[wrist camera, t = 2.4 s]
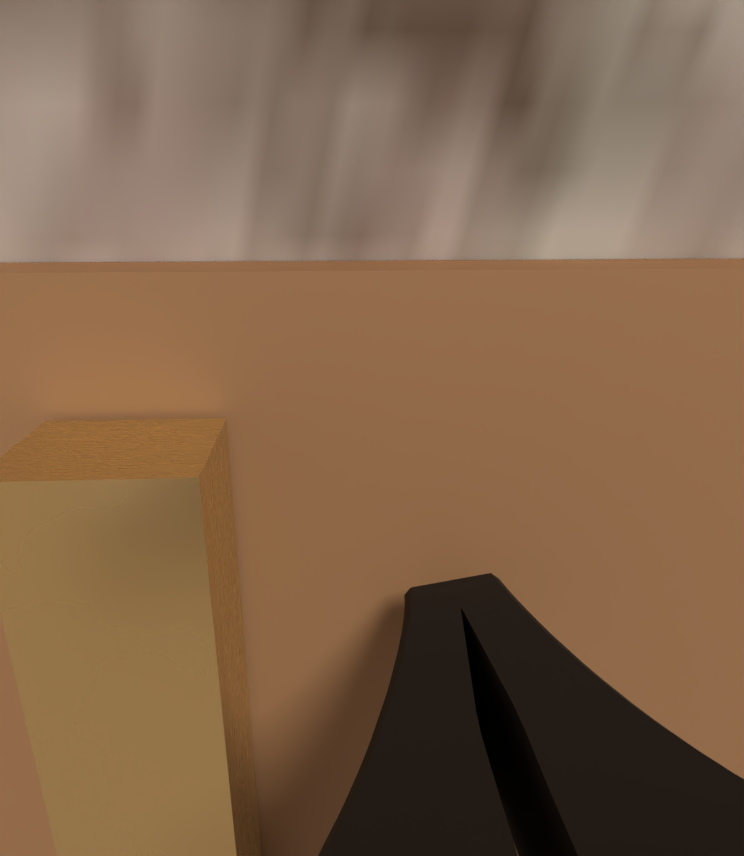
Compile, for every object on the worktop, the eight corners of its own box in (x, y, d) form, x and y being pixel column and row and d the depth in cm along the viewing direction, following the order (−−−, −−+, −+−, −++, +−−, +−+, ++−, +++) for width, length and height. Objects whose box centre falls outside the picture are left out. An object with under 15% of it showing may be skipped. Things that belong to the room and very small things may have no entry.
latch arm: (282, 955, 13) (272, 1097, 11) (131, 964, 13) (93, 1109, 11) (244, 418, 9) (219, 485, 7) (26, 421, 9) (-64, 491, 7)
